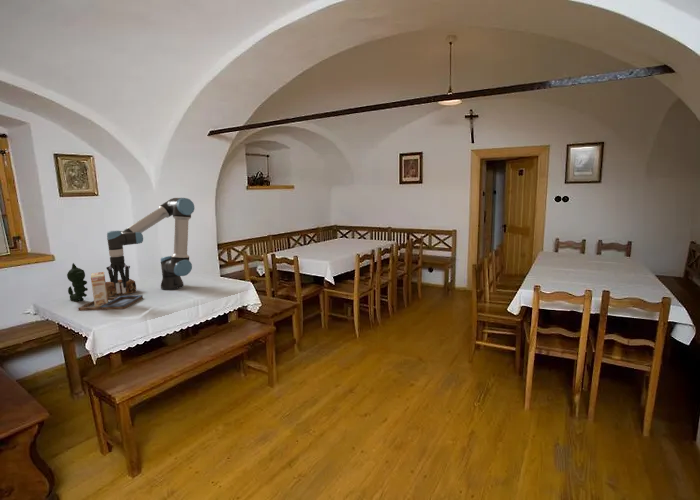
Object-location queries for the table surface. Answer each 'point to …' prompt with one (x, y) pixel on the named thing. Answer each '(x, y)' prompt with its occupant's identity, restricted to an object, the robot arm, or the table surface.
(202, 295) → the table surface
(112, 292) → the bread
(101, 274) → the coffeecake box
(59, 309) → the table surface
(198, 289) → the table surface
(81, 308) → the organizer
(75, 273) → the toy figurine
